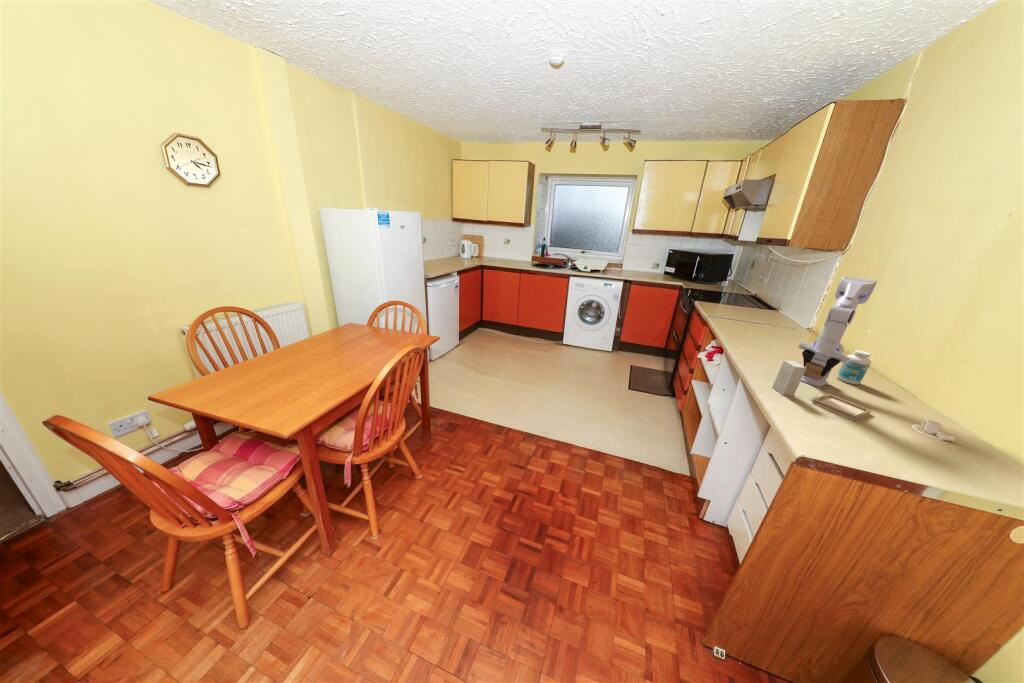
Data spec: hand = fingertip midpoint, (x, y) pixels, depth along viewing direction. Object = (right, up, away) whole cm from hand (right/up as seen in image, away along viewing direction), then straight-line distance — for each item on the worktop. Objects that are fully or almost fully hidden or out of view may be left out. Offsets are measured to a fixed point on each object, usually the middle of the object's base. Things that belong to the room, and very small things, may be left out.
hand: (813, 372), depth 123 cm
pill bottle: (+29, -5, +16) cm, 33 cm away
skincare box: (-10, -8, +2) cm, 13 cm away
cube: (0, -2, +1) cm, 2 cm away
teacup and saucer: (+19, -19, -19) cm, 33 cm away
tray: (+3, -12, -7) cm, 14 cm away
